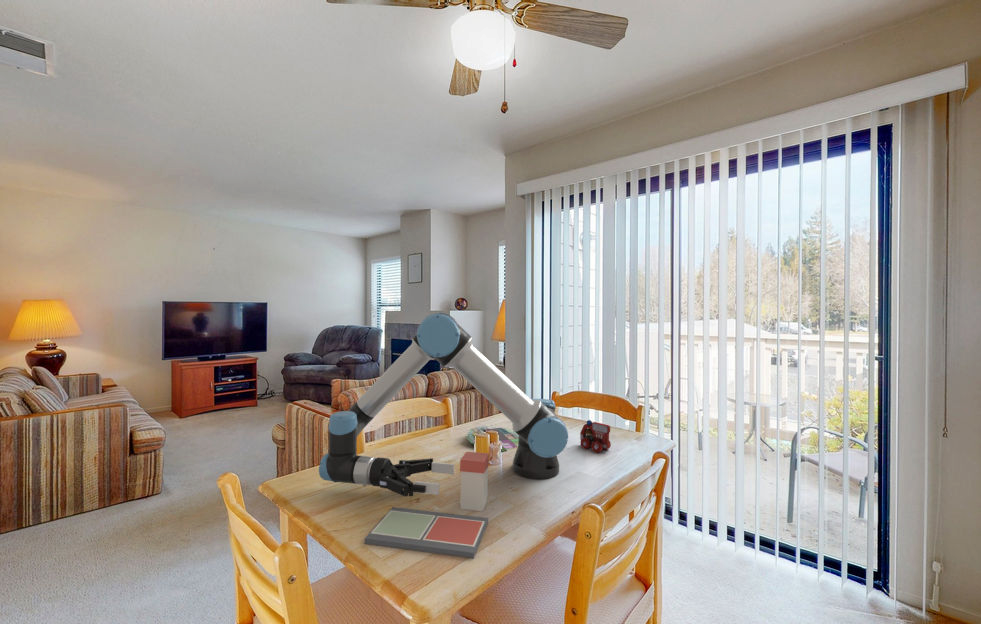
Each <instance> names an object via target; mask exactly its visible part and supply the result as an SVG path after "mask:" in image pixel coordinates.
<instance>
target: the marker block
mask: <svg viewBox="0 0 981 624" xmlns="http://www.w3.org/2000/svg"><path fill="white" fill-rule="evenodd" d="M459 462H460V463H459V471H460V504H459V505H460V510H466V511H467V510H469V511H476V512H477V511H478V512H483V511H484V509H485V507H486V505H487V503H488V492H489V491H488V488H489V487H488V483H489V482H488V481H489V477H488V476H489V464H490V453H487V452H486V453H485V452H476V451H475V452H474V451H465V453H464V454H463V455H462V457H461V458H460V459H459Z"/></svg>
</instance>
